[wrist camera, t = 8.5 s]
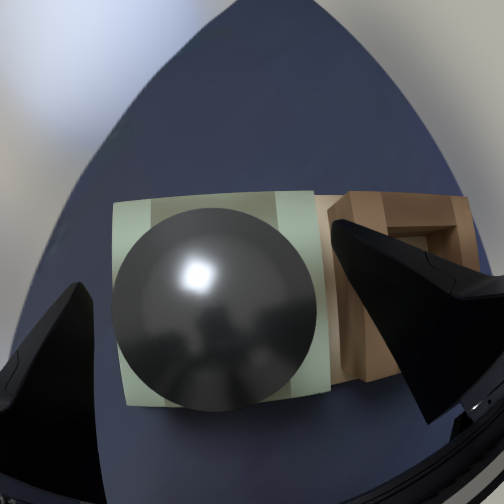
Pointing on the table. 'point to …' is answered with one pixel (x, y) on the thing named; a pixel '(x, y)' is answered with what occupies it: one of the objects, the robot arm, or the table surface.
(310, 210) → the wooden desk organizer
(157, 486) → the table surface
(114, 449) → the table surface
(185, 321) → the shiny grey rounded piece
